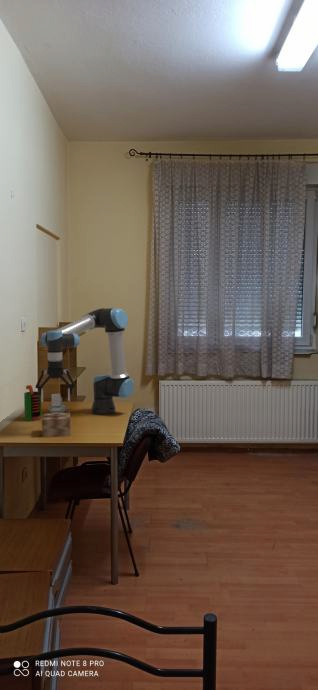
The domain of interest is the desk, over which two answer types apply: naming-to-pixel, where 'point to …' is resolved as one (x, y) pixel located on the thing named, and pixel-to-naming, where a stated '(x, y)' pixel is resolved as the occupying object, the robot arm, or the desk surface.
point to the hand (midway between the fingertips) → (55, 401)
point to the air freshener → (63, 407)
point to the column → (56, 405)
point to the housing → (56, 425)
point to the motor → (32, 405)
